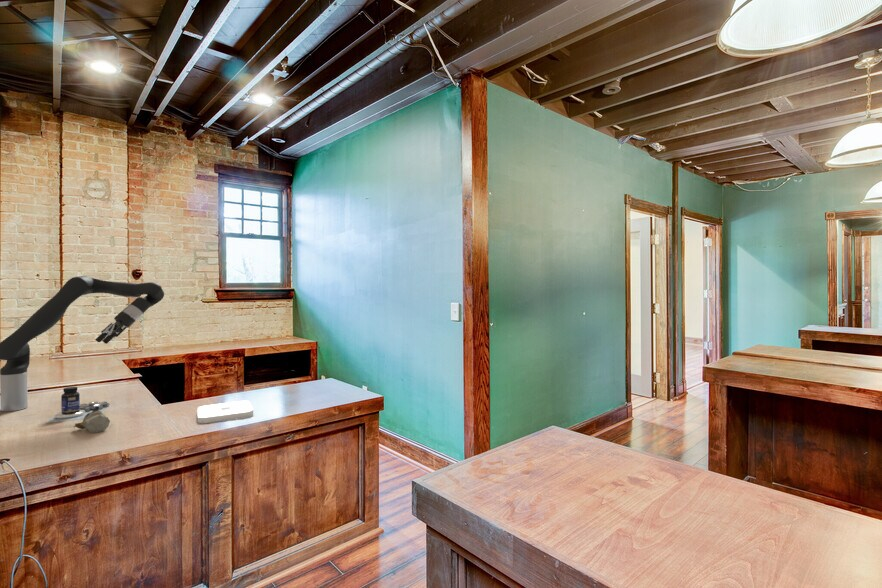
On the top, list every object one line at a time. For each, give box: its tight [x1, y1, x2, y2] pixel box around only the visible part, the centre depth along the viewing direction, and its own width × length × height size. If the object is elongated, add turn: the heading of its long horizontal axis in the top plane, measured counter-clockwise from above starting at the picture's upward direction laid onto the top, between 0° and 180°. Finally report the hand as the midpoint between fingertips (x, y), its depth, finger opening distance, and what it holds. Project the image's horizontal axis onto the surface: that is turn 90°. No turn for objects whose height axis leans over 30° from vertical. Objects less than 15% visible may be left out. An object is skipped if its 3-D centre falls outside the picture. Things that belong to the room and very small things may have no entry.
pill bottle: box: [60, 386, 81, 414], centre depth 189 cm, size 6×6×11 cm
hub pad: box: [54, 410, 85, 419], centre depth 189 cm, size 10×10×1 cm
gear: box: [80, 401, 110, 412], centre depth 201 cm, size 13×13×3 cm
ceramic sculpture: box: [74, 409, 111, 433], centre depth 174 cm, size 11×9×15 cm
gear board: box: [45, 403, 110, 424], centre depth 193 cm, size 24×17×2 cm
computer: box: [197, 400, 254, 424], centre depth 196 cm, size 22×22×3 cm
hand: (100, 341), depth 200 cm, fingers open, 8 cm apart
